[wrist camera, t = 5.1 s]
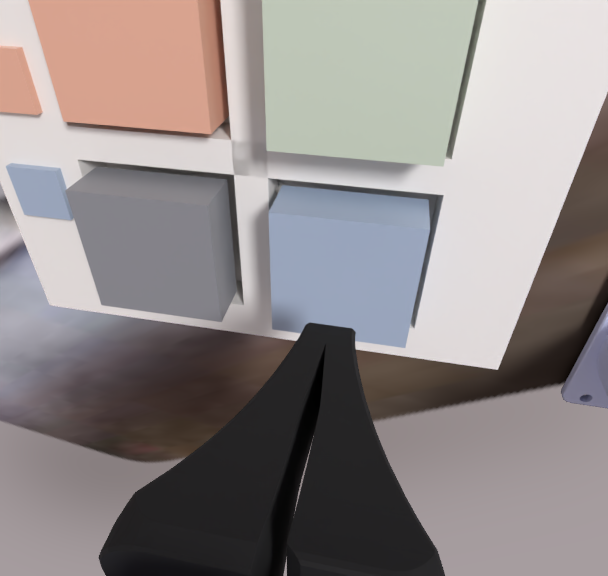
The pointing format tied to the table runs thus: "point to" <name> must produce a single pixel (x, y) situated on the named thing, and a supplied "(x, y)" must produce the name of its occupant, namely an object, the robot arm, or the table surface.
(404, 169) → the keypad
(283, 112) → the key sage
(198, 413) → the table surface
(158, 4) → the key terracotta
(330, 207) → the key slate
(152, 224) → the key charcoal
